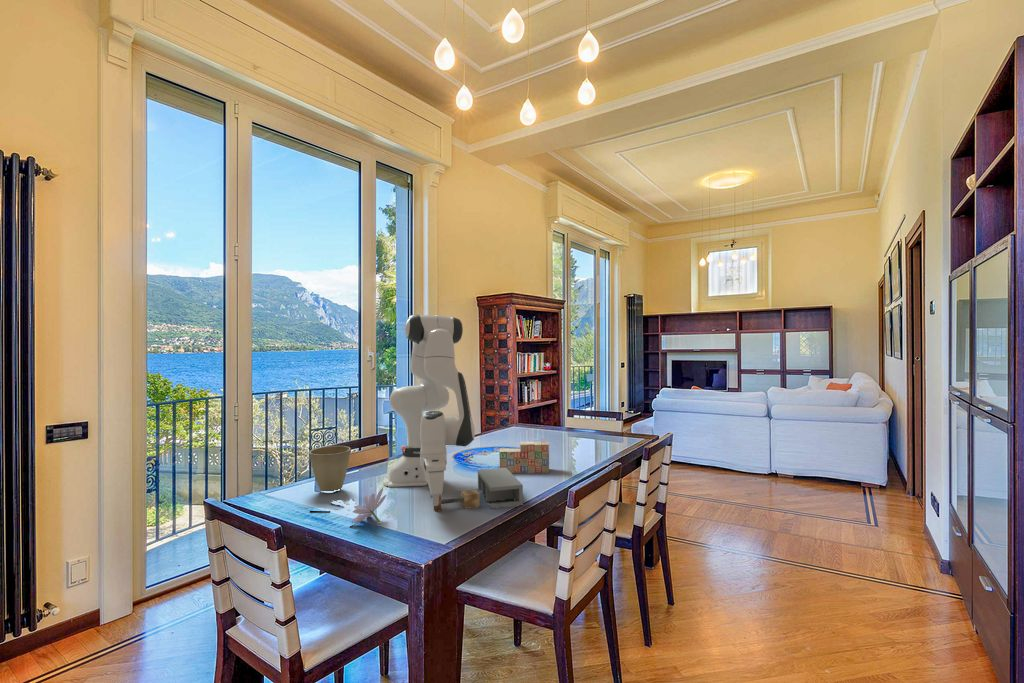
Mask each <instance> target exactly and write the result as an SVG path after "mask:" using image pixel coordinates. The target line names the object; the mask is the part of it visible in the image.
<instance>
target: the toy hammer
mask: <svg viewBox="0 0 1024 683" xmlns="http://www.w3.org/2000/svg"><path fill="white" fill-rule="evenodd" d="M460 493H461V494H460V495H461V497H460V496H459V497H453V498H452V497H451V498H445V499H442V495H439V505H438V506H433V511H434V510H435V511H434V512H440V510H441V511H442V505H446V504H447V505H449V504H454V503H461V506H462V507H463V506H464V507H465V508H466V509H470V508H469V507H473V508H477V507H476V506H479V507H480V493H479V492H478V491H477V490H476V489H469V490H463V491H460ZM464 507H463V508H464ZM465 508H464V509H465Z"/></svg>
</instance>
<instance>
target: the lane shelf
mask: <svg viewBox="0 0 1024 683" xmlns="http://www.w3.org/2000/svg"><path fill="white" fill-rule="evenodd" d="M523 488H524V486H523V483H521V481H520V480H519V479H518V478H517V477H515V475H514V474H513V473H511V472H510V471H509V470H508V469H507V468H500V467H499V468H498V467H497V468H486V469H485V468H484V469H477V489H478V490H481V495H482V496H485V502H486V501H491V503H490V504H489V505H490V506H489V507H490V509H491V508H496V509H500V508H499V507H505V508H512V507H511V506H515V507H519V506H518V505H523V506H524V498H523V497H524V494H523V493H524V492H523ZM505 499H511V500H509V501H506V500H505ZM514 499H515V500H514ZM496 500H501V501H500V502H497V501H496ZM492 502H493V503H492Z"/></svg>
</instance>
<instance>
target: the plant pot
mask: <svg viewBox="0 0 1024 683" xmlns="http://www.w3.org/2000/svg"><path fill="white" fill-rule="evenodd" d="M350 455H351V447H350V446H346V445H330V446H329V445H328V446H322V447H318V448H314V449H311V450H309V459H310V464H311V468H312V472H313V475H314V478H315V480H316V484H317V486H318V488H319V490H322V491H334V490H338V489H341V488H342V489H343V485H344V482H345V479H346V476H347V471H348V468H349V462H350ZM342 489H341V490H342Z"/></svg>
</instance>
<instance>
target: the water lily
mask: <svg viewBox="0 0 1024 683" xmlns="http://www.w3.org/2000/svg"><path fill="white" fill-rule="evenodd" d="M383 491H384V487H382V488H380V489H379V491H378V492H377V494H376V493H372V494H371V495H370V496H369V495H368V494H365V496H364V497H363V501H364V502H363V503H364V504H365V505H361V504H359V505H358V504H357V506H354V508H355V510H354V511H352V512H353V513H352V514H358V515H356V517H354V518H352V519H351V521H353V522H352V523H351V524H353V523H357V524H359V523H361V522H362V521H364V520H365V519H366V518H371V516H373V518H375V519H376V521H377V523H378V522H381V520H380V519H379V518H378V517H377V515H376V513H375V510H376V509H378V508H379V507H380V506H381V505H382V503H383V502H384V501H385V499H386V498H387V494H385V495H383ZM382 495H383V496H382ZM358 522H359V523H358Z"/></svg>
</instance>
